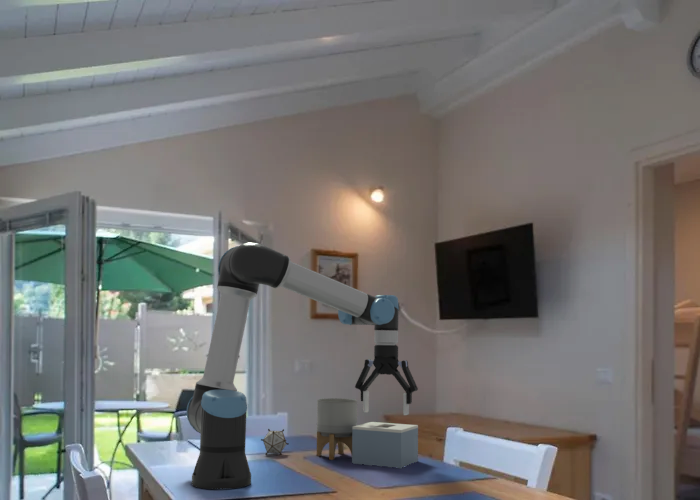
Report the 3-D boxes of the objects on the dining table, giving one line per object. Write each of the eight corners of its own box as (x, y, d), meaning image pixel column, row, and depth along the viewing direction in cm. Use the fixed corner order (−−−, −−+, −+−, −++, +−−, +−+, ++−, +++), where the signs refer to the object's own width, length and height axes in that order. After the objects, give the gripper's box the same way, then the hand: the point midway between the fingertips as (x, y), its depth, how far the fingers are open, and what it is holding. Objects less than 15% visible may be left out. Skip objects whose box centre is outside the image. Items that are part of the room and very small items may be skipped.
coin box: (400, 468, 207) (401, 430, 209) (352, 463, 214) (352, 426, 216) (417, 461, 220) (418, 425, 221) (371, 456, 227) (371, 421, 228)
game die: (278, 465, 230) (296, 439, 234) (274, 460, 223) (292, 433, 226) (257, 450, 233) (275, 424, 236) (252, 444, 226) (270, 418, 229)
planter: (311, 458, 222) (312, 401, 224) (322, 452, 235) (323, 397, 237) (351, 460, 219) (352, 402, 221) (360, 454, 232) (361, 399, 234)
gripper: (427, 345, 219) (427, 414, 217) (355, 343, 230) (354, 410, 228) (419, 345, 213) (419, 417, 210) (345, 343, 224) (344, 412, 221)
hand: (385, 413), depth 219 cm, fingers open, 13 cm apart
